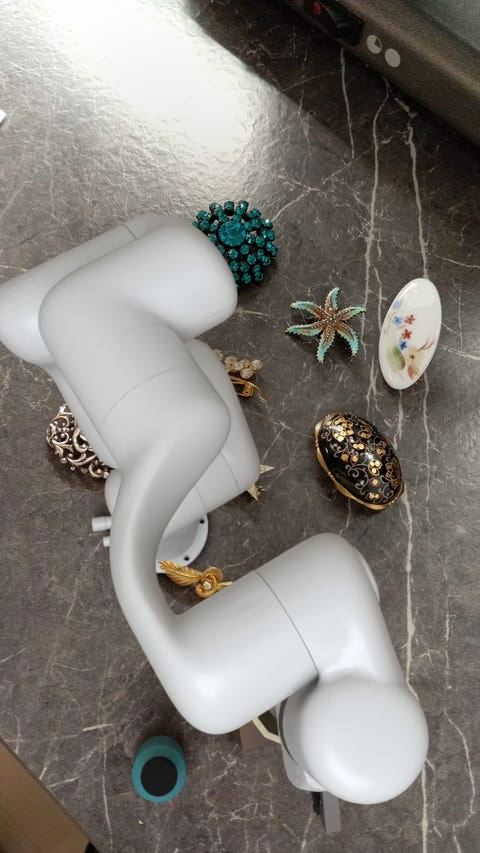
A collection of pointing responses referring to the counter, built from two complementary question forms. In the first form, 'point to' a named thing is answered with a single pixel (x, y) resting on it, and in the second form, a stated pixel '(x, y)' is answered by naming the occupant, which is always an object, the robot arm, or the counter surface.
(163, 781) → the beverage bottle
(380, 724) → the robot arm
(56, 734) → the counter surface
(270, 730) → the cream cup
